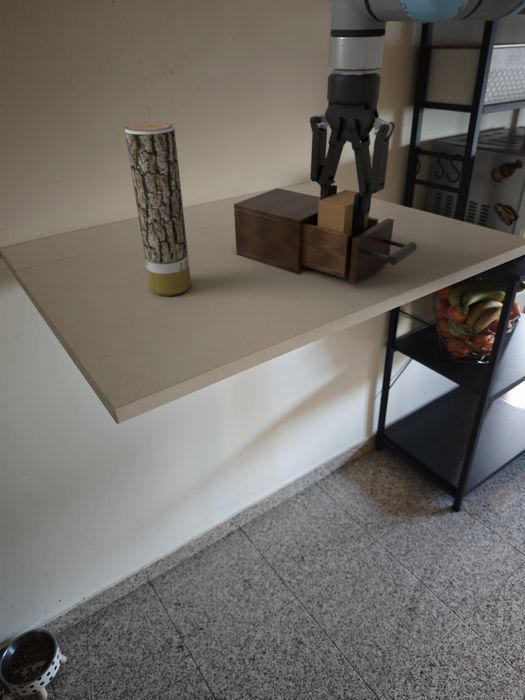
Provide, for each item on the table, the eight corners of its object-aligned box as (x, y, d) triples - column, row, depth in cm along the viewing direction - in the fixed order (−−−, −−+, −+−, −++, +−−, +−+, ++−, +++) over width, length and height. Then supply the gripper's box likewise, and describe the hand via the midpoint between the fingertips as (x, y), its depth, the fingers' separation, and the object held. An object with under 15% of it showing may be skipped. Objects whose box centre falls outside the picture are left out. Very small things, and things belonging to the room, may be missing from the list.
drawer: (418, 270, 85) (425, 226, 80) (386, 295, 78) (392, 247, 73) (324, 245, 95) (326, 204, 91) (288, 264, 88) (288, 221, 84)
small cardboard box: (342, 220, 88) (345, 189, 85) (367, 226, 85) (371, 194, 82) (317, 233, 83) (318, 201, 80) (342, 240, 80) (345, 206, 77)
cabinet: (337, 251, 95) (341, 201, 89) (298, 274, 87) (299, 220, 81) (277, 235, 102) (277, 187, 97) (236, 254, 94) (233, 204, 89)
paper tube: (152, 300, 79) (125, 131, 66) (148, 282, 85) (123, 123, 71) (194, 294, 81) (176, 128, 67) (188, 277, 86) (171, 120, 73)
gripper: (425, 72, 69) (401, 234, 82) (317, 67, 78) (311, 212, 91) (400, 77, 64) (379, 248, 77) (288, 71, 74) (286, 224, 87)
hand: (342, 228), depth 84 cm, fingers closed on small cardboard box, 5 cm apart
